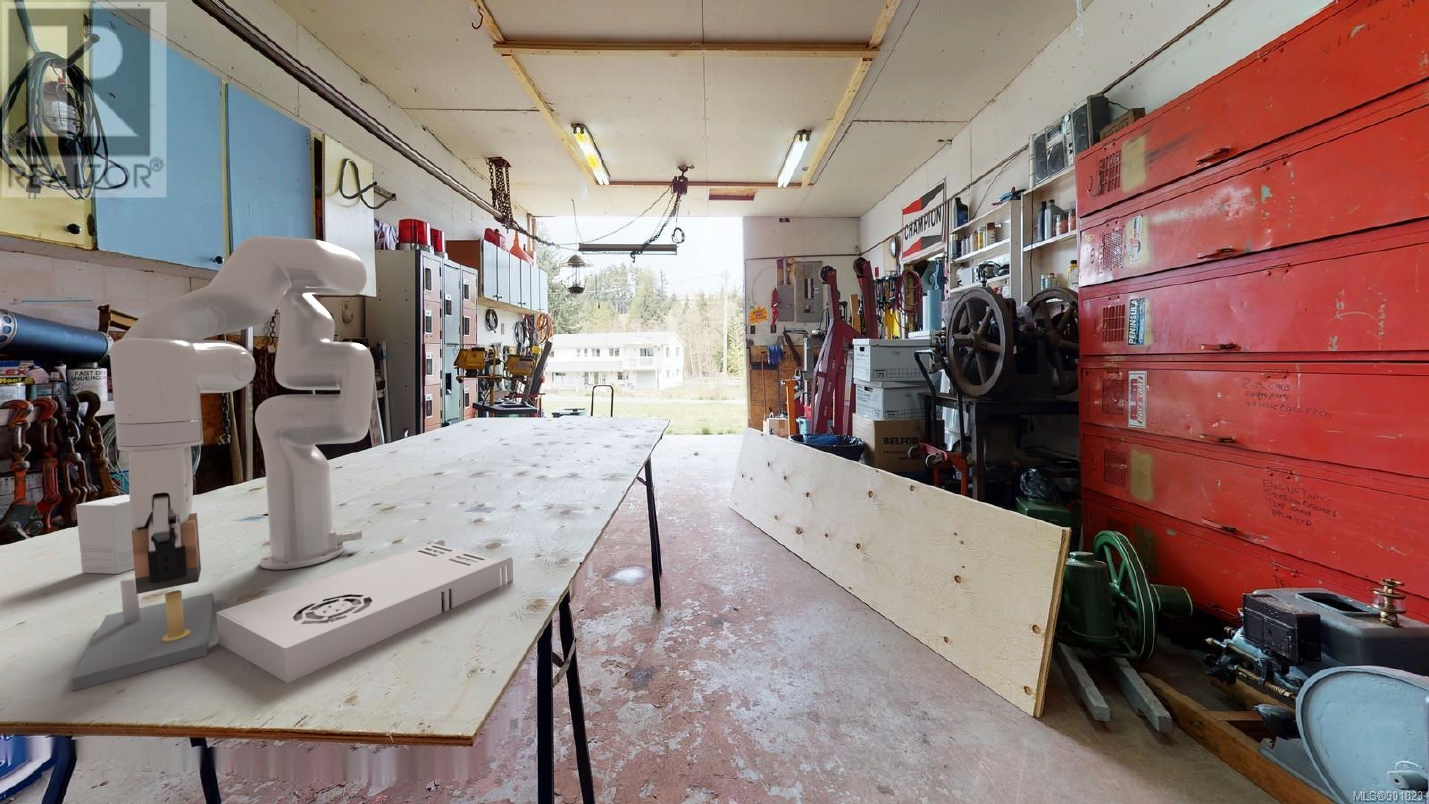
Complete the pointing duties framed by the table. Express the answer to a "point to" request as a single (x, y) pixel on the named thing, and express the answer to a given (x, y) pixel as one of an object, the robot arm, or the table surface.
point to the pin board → (146, 636)
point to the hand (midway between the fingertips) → (171, 571)
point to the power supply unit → (354, 608)
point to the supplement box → (105, 535)
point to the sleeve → (188, 540)
